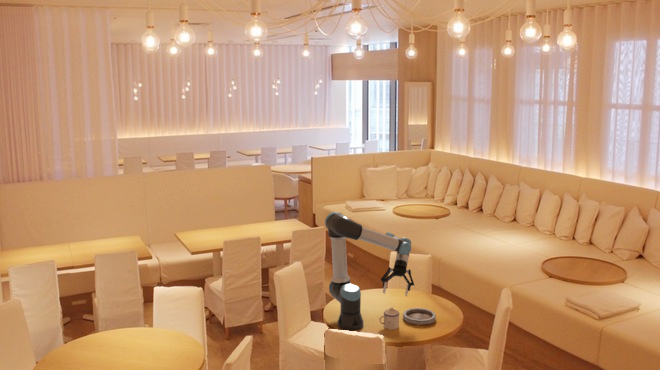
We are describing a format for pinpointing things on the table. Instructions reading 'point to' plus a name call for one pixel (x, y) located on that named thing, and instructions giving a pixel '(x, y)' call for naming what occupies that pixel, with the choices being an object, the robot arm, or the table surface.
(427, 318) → the round grey tray
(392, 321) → the teacup with lid
